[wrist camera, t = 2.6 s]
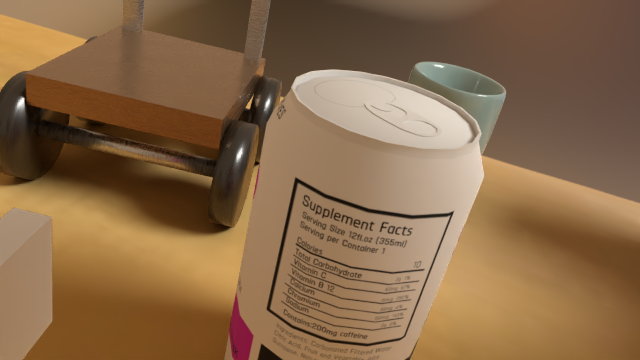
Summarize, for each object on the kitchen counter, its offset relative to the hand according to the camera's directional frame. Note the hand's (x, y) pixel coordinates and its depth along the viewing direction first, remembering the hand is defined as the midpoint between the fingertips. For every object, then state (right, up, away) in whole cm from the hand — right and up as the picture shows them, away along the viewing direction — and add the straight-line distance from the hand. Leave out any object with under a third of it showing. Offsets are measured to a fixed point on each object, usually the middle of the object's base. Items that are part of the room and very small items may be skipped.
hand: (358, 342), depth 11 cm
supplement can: (-2, -7, +16) cm, 17 cm away
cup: (+9, +3, +39) cm, 40 cm away
